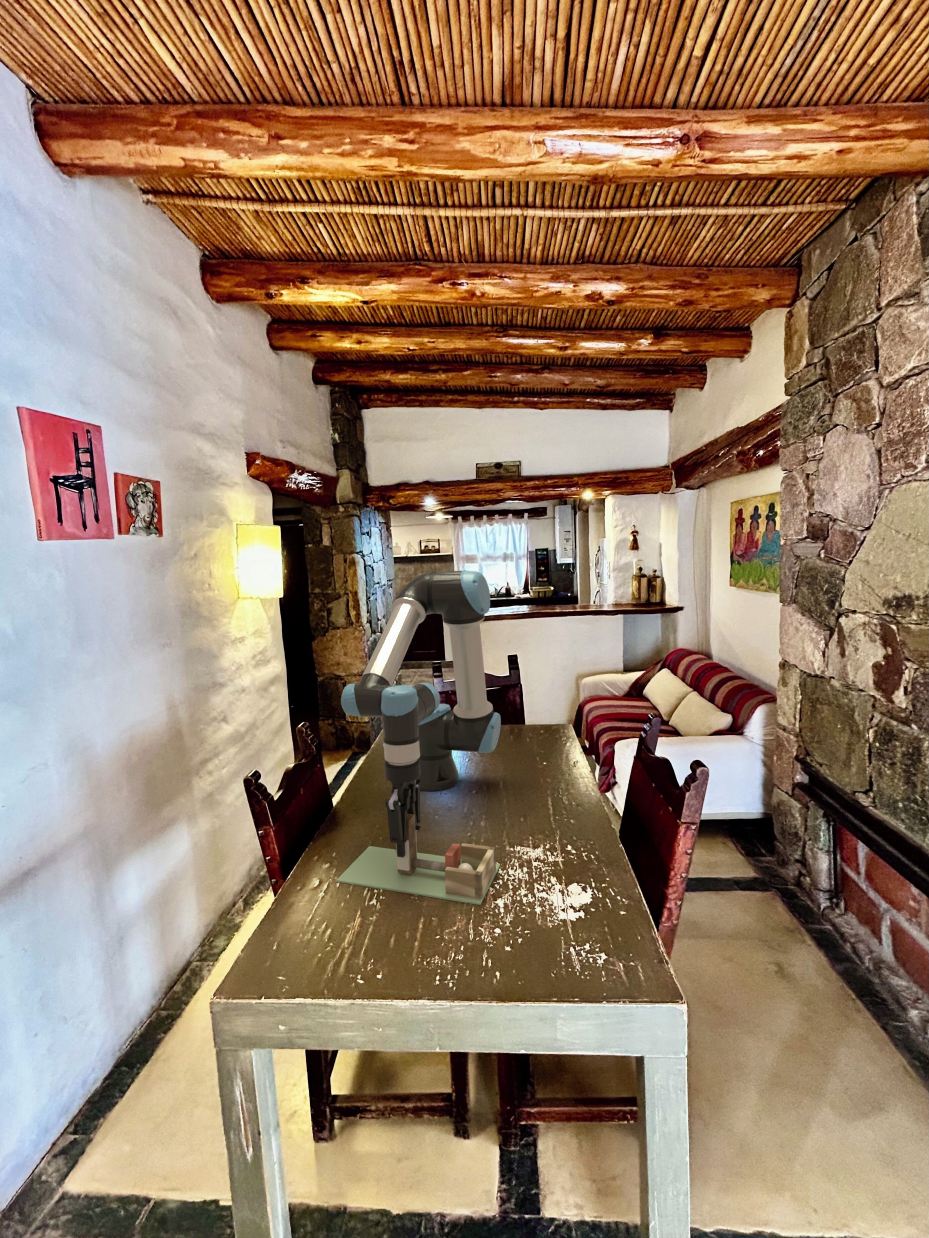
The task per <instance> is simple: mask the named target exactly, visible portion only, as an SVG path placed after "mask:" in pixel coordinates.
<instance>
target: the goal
mask: <svg viewBox="0 0 929 1238" xmlns="http://www.w3.org/2000/svg"><path fill="white" fill-rule="evenodd" d="M460 857H461V864H463V863H468V864H470V865H471V866H472V868H473V869H474V870H476V871H473V870H466V869H459V868H452V867H446V869H445V885H446V893H447V894H453V895H460V896H466V897H472V898H479V899H481V898H482V896H483V894H484V892H485V890H486V888H487V886H488V884H489V882H490V880H491V878H492V876H493V874H494V872H495V870H496V863H497V861H496V860H497V859H496V847H495V846H488V845H481V844H478V845H477V844H470V843H463V842H462V844H460Z"/></svg>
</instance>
